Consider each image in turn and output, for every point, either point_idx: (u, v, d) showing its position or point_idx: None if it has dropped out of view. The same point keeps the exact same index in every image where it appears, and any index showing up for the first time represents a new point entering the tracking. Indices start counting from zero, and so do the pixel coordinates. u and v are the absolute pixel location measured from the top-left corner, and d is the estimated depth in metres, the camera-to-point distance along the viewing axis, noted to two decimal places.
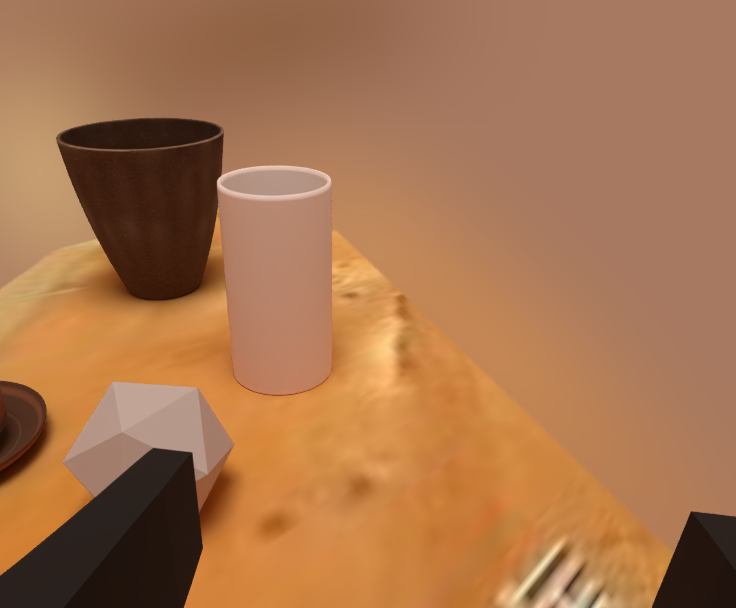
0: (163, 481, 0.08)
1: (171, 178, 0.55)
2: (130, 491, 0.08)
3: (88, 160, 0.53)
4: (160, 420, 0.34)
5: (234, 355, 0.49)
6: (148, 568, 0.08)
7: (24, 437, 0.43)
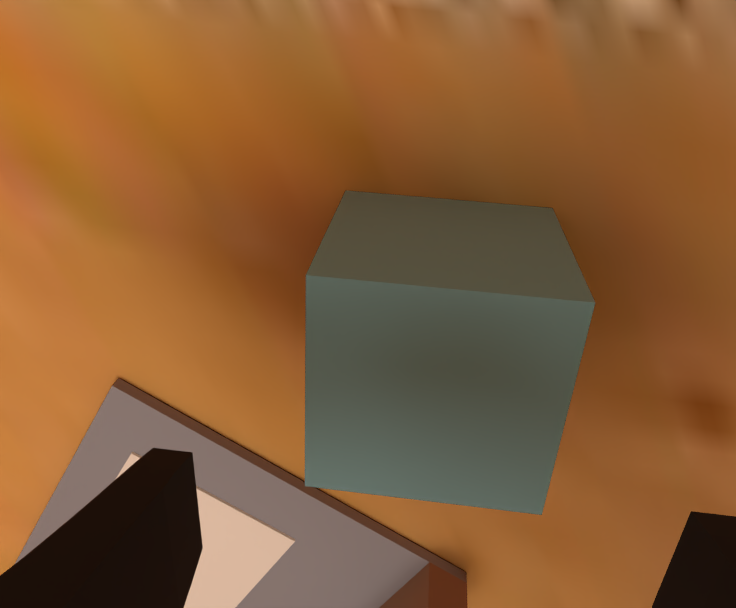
0: (163, 481, 0.08)
1: None
2: (130, 491, 0.08)
3: None
4: None
5: None
6: (148, 568, 0.08)
7: None
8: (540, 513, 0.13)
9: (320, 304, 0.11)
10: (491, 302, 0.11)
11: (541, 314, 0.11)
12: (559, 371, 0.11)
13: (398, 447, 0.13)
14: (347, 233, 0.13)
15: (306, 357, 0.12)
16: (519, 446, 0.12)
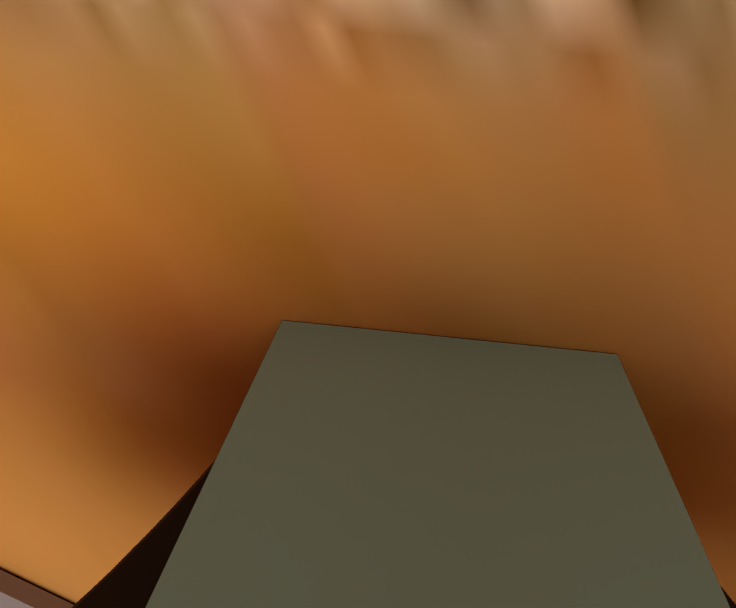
0: None
1: None
2: None
3: None
4: None
5: None
6: None
7: None
8: None
9: None
10: None
11: None
12: None
13: None
14: (261, 451, 0.07)
15: None
16: None
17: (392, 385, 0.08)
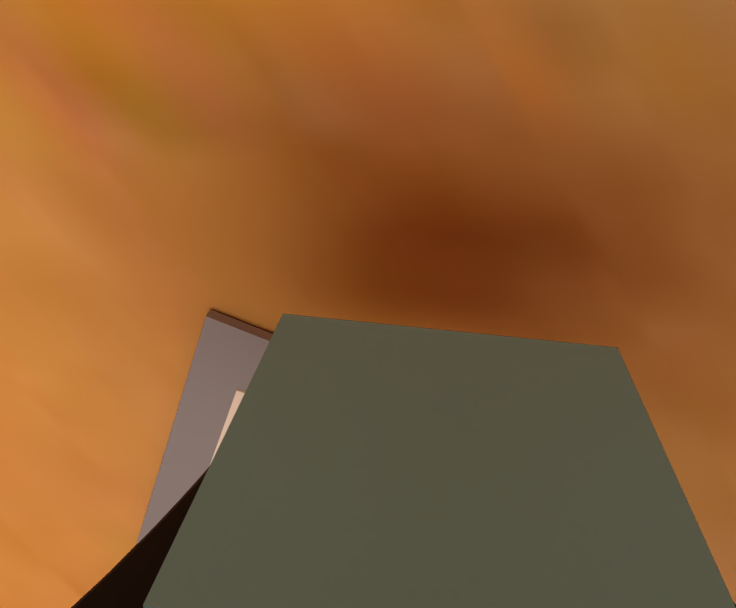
0: None
1: None
2: None
3: None
4: None
5: None
6: None
7: None
8: None
9: None
10: None
11: None
12: None
13: None
14: (262, 442, 0.07)
15: None
16: None
17: (393, 377, 0.08)
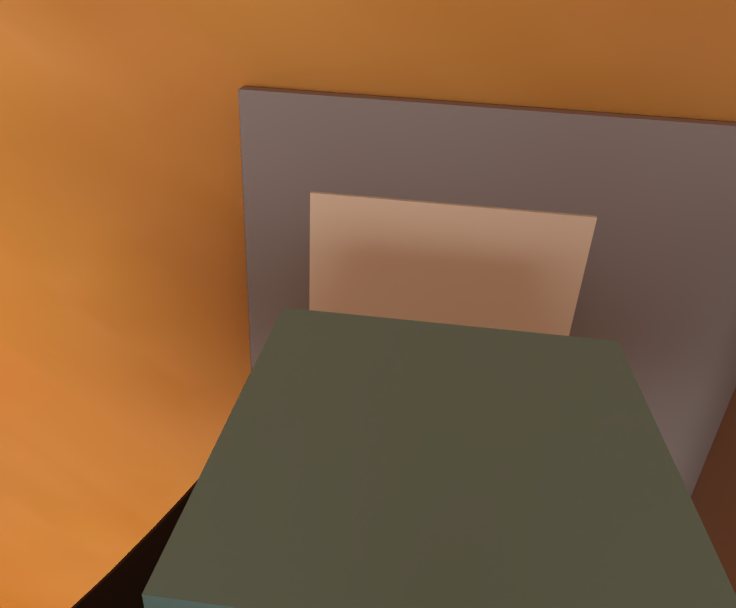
0: None
1: None
2: None
3: None
4: None
5: None
6: None
7: None
8: None
9: None
10: None
11: None
12: None
13: None
14: (262, 433, 0.07)
15: None
16: None
17: (393, 370, 0.08)
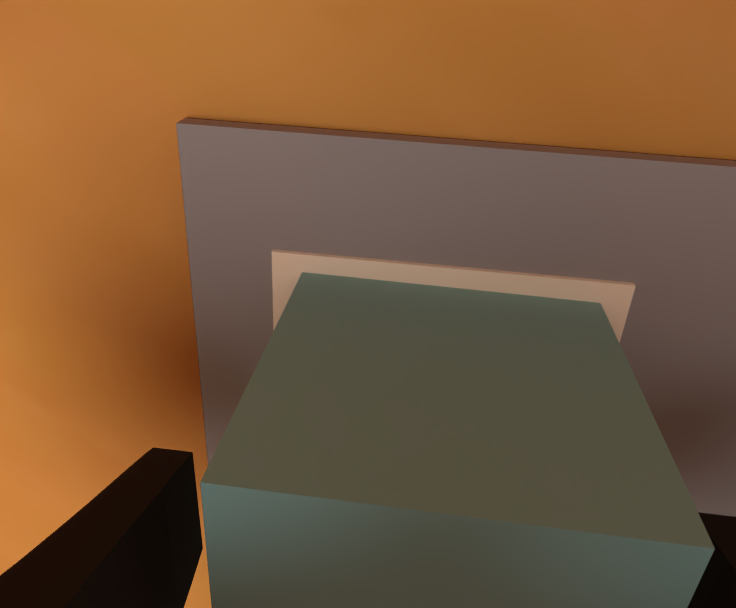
0: (163, 481, 0.08)
1: None
2: (130, 491, 0.08)
3: None
4: None
5: None
6: (148, 568, 0.08)
7: None
8: None
9: (229, 525, 0.06)
10: (528, 537, 0.06)
11: (615, 561, 0.06)
12: None
13: None
14: (290, 368, 0.08)
15: (213, 590, 0.07)
16: None
17: (402, 323, 0.09)
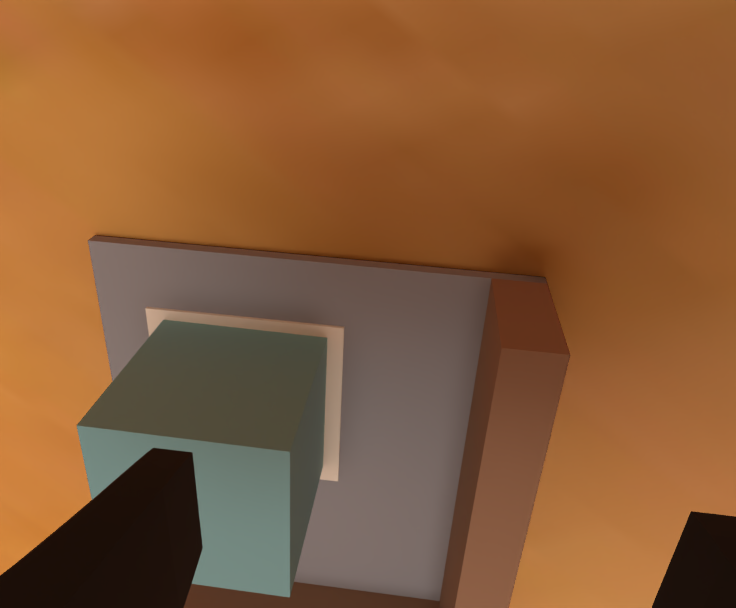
0: (163, 481, 0.08)
1: None
2: (130, 491, 0.08)
3: None
4: None
5: None
6: (148, 568, 0.08)
7: None
8: (288, 596, 0.16)
9: (91, 445, 0.15)
10: (215, 448, 0.14)
11: (254, 459, 0.14)
12: (276, 497, 0.15)
13: None
14: (135, 375, 0.16)
15: (90, 479, 0.15)
16: (260, 547, 0.16)
17: (206, 350, 0.17)
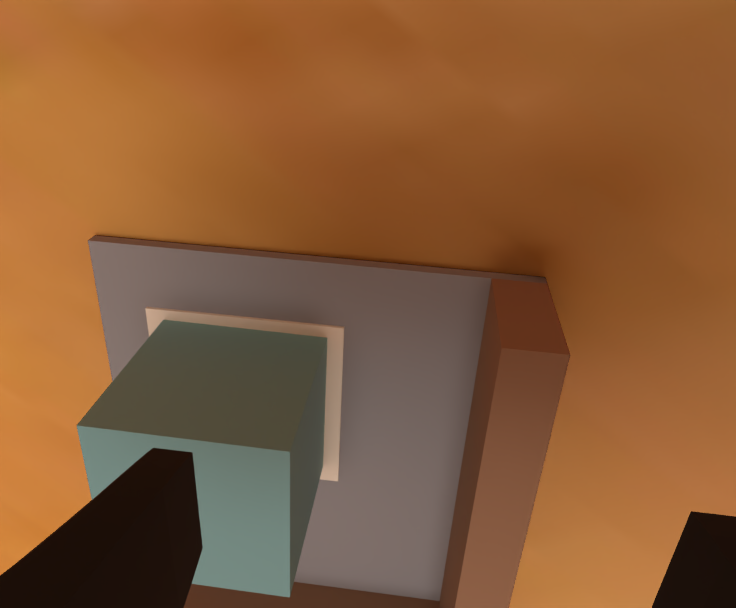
0: (163, 481, 0.08)
1: None
2: (130, 491, 0.08)
3: None
4: None
5: None
6: (148, 568, 0.08)
7: None
8: (288, 596, 0.16)
9: (91, 445, 0.15)
10: (215, 448, 0.14)
11: (254, 459, 0.14)
12: (276, 497, 0.15)
13: None
14: (135, 375, 0.16)
15: (90, 479, 0.15)
16: (260, 547, 0.16)
17: (206, 350, 0.17)
